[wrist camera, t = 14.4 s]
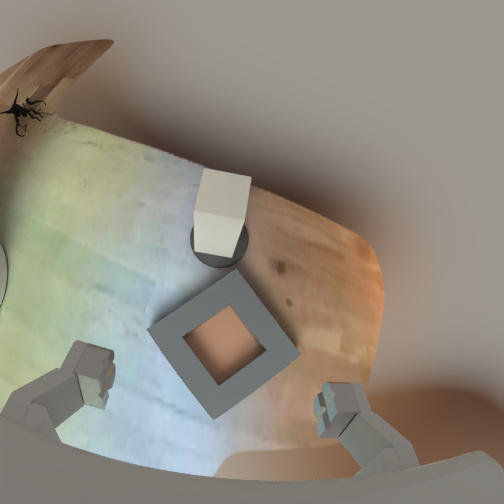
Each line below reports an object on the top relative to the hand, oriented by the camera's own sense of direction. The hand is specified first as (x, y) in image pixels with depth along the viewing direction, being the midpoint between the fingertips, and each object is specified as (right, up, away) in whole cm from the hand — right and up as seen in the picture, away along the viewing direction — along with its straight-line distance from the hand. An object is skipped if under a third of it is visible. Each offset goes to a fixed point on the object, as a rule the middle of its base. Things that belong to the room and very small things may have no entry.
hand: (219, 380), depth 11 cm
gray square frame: (-2, -6, +24) cm, 25 cm away
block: (-3, +7, +27) cm, 28 cm away
